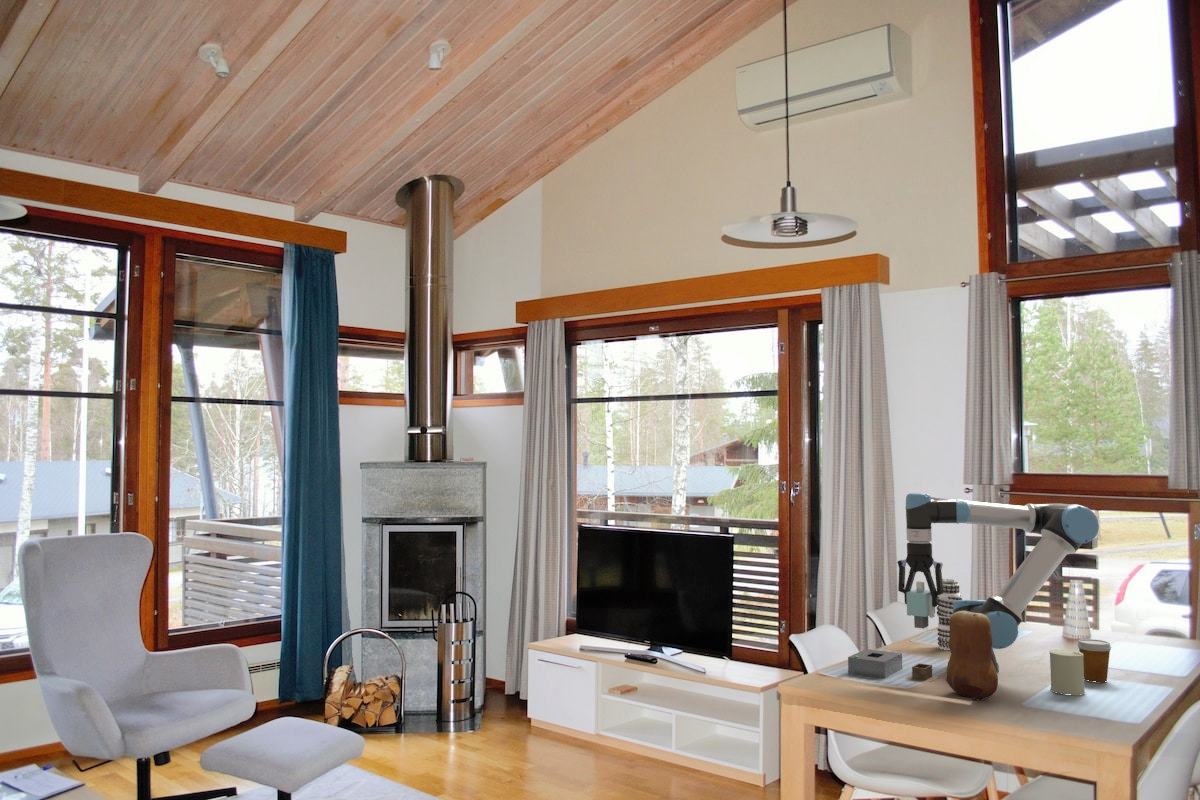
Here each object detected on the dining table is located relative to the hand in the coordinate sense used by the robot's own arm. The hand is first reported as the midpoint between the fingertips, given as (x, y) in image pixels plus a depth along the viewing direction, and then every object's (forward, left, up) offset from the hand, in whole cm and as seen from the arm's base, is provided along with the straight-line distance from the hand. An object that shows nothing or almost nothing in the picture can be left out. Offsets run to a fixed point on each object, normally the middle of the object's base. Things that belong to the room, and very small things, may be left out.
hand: (921, 615), depth 290 cm
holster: (0, 0, -20) cm, 20 cm away
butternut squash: (-23, +2, -20) cm, 30 cm away
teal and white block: (0, 0, -3) cm, 3 cm away
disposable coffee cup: (-21, -50, -20) cm, 58 cm away
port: (+13, +8, -20) cm, 25 cm away
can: (-28, -30, -20) cm, 46 cm away
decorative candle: (+35, -44, -20) cm, 60 cm away
